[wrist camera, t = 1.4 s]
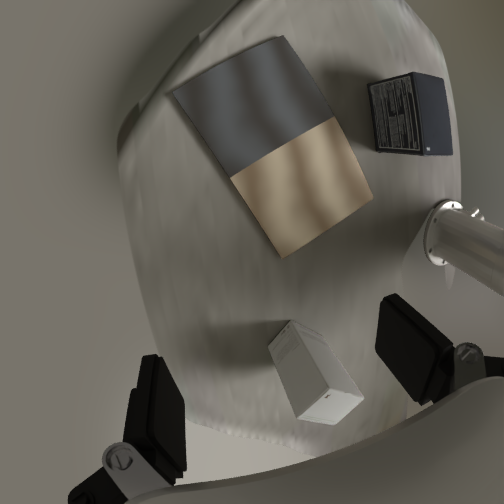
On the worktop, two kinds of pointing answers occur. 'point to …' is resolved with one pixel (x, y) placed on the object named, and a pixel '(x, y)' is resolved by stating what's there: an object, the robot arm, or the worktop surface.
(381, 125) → the small box
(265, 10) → the worktop surface
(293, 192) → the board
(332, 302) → the worktop surface
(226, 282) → the worktop surface
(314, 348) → the skincare box
